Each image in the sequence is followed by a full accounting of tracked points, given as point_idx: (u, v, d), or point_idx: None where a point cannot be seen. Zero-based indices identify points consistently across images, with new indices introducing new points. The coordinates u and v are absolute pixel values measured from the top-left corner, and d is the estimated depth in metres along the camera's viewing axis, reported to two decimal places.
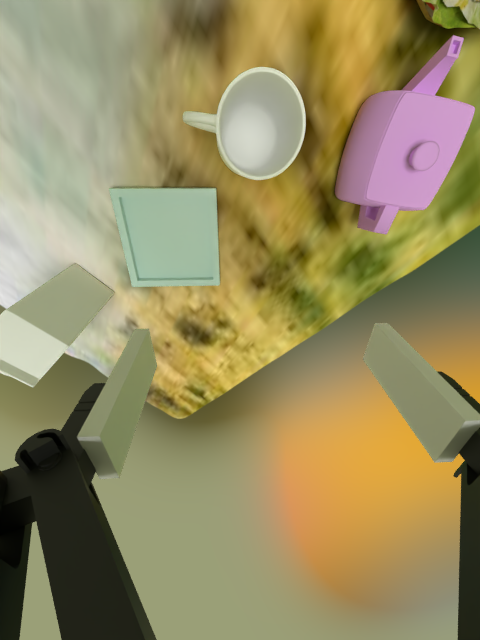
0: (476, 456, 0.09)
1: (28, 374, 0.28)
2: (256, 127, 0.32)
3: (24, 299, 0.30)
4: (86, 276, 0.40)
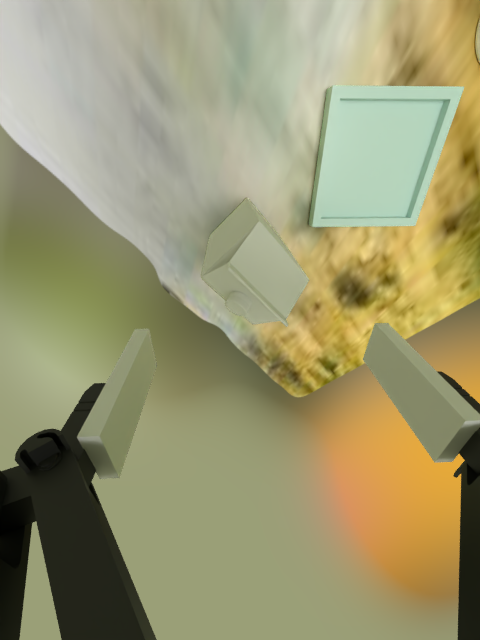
0: (476, 456, 0.09)
1: (278, 310, 0.21)
2: None
3: (257, 216, 0.23)
4: (260, 213, 0.33)
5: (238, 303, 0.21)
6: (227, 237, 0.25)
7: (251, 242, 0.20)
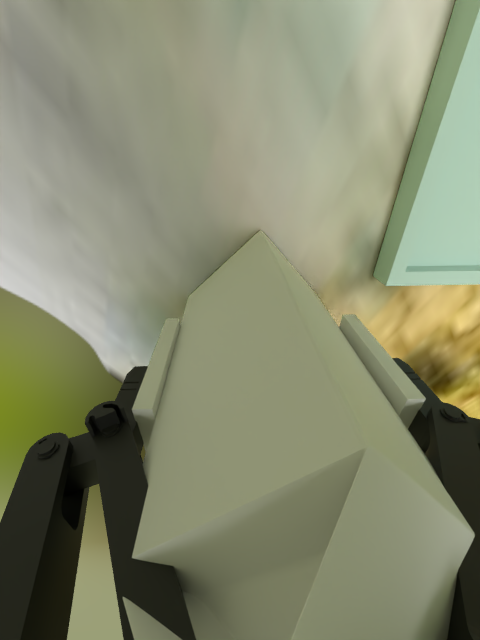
0: (420, 435, 0.10)
1: None
2: None
3: (323, 346, 0.06)
4: (287, 261, 0.17)
5: None
6: (217, 369, 0.09)
7: (336, 586, 0.04)
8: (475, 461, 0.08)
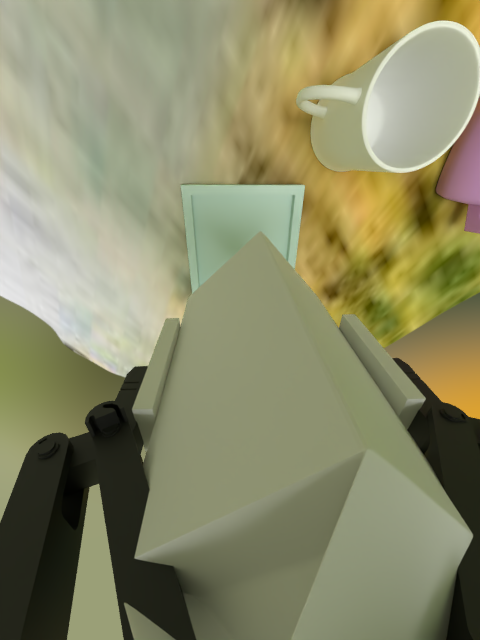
0: (420, 435, 0.10)
1: None
2: None
3: (322, 349, 0.06)
4: (287, 262, 0.17)
5: None
6: (217, 370, 0.09)
7: (336, 589, 0.04)
8: (475, 461, 0.08)
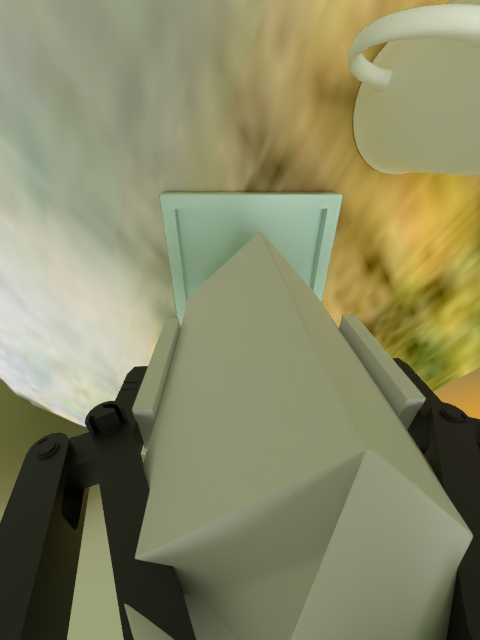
0: (420, 435, 0.10)
1: None
2: None
3: (322, 349, 0.06)
4: (287, 262, 0.17)
5: None
6: (217, 371, 0.09)
7: (336, 589, 0.04)
8: (475, 461, 0.08)
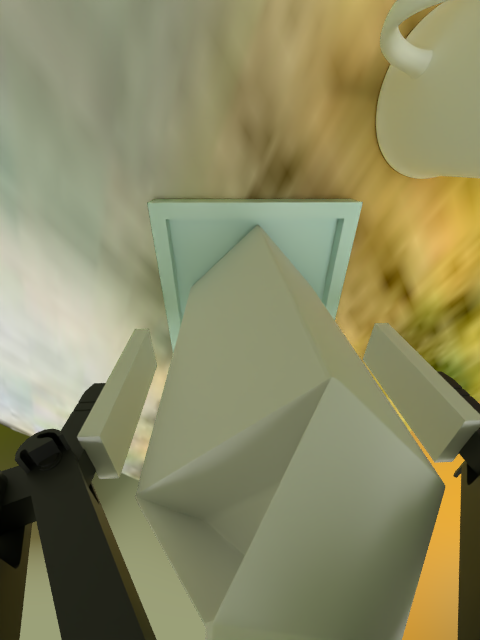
0: (476, 456, 0.09)
1: None
2: None
3: (305, 315, 0.08)
4: (282, 253, 0.18)
5: None
6: (218, 342, 0.10)
7: (306, 474, 0.05)
8: None
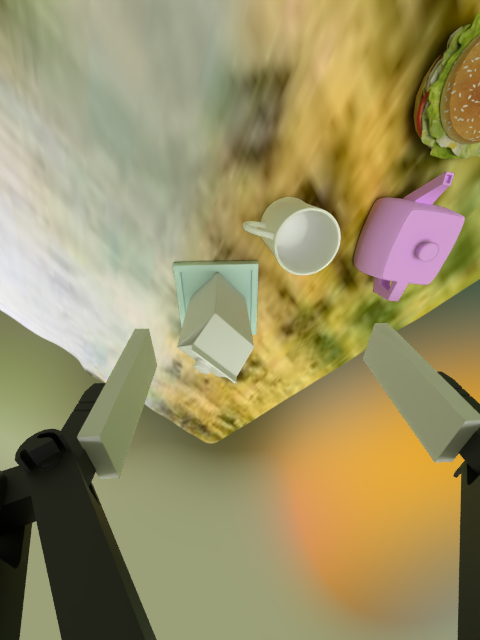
0: (476, 456, 0.09)
1: (229, 372, 0.31)
2: (292, 219, 0.40)
3: (216, 304, 0.33)
4: (228, 283, 0.43)
5: (201, 367, 0.31)
6: (198, 313, 0.35)
7: (209, 328, 0.30)
8: None
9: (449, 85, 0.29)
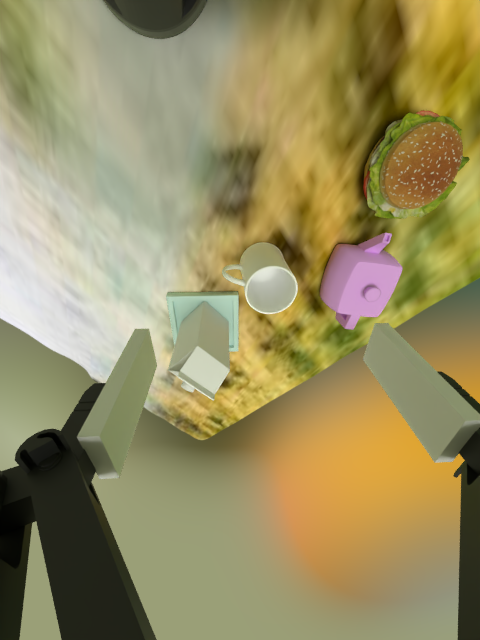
0: (476, 456, 0.09)
1: (209, 391, 0.39)
2: None
3: (200, 336, 0.41)
4: (213, 311, 0.51)
5: (187, 388, 0.39)
6: (185, 341, 0.43)
7: (192, 358, 0.38)
8: None
9: (384, 168, 0.36)
